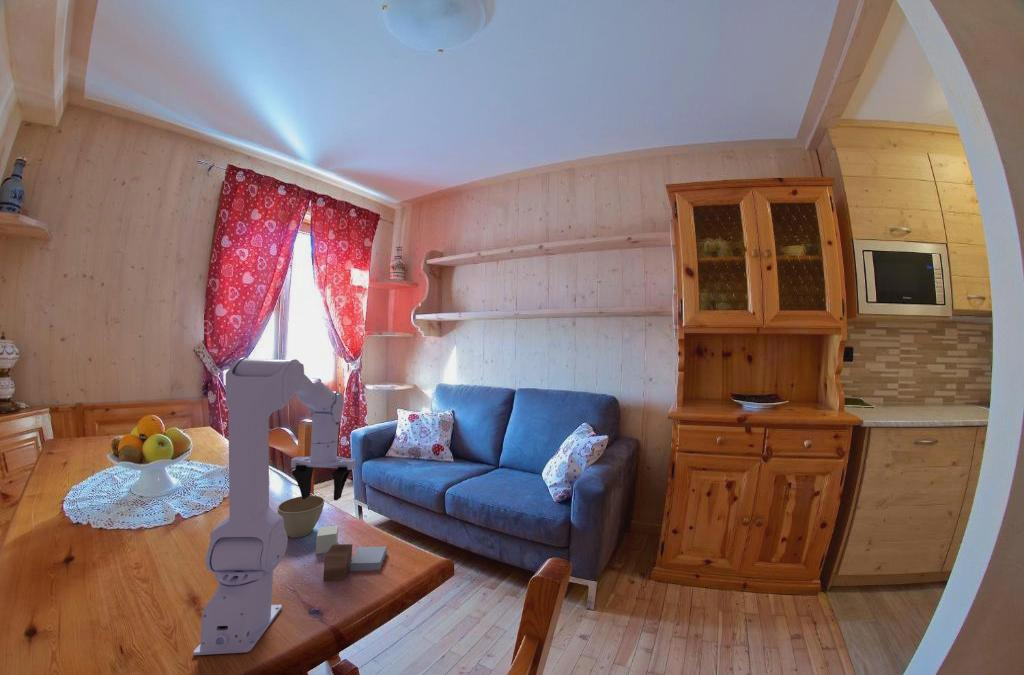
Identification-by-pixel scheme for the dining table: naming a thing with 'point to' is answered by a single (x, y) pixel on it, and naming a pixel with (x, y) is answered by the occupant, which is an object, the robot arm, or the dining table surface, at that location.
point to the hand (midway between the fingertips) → (321, 498)
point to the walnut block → (337, 562)
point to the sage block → (326, 538)
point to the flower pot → (301, 515)
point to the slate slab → (368, 558)
